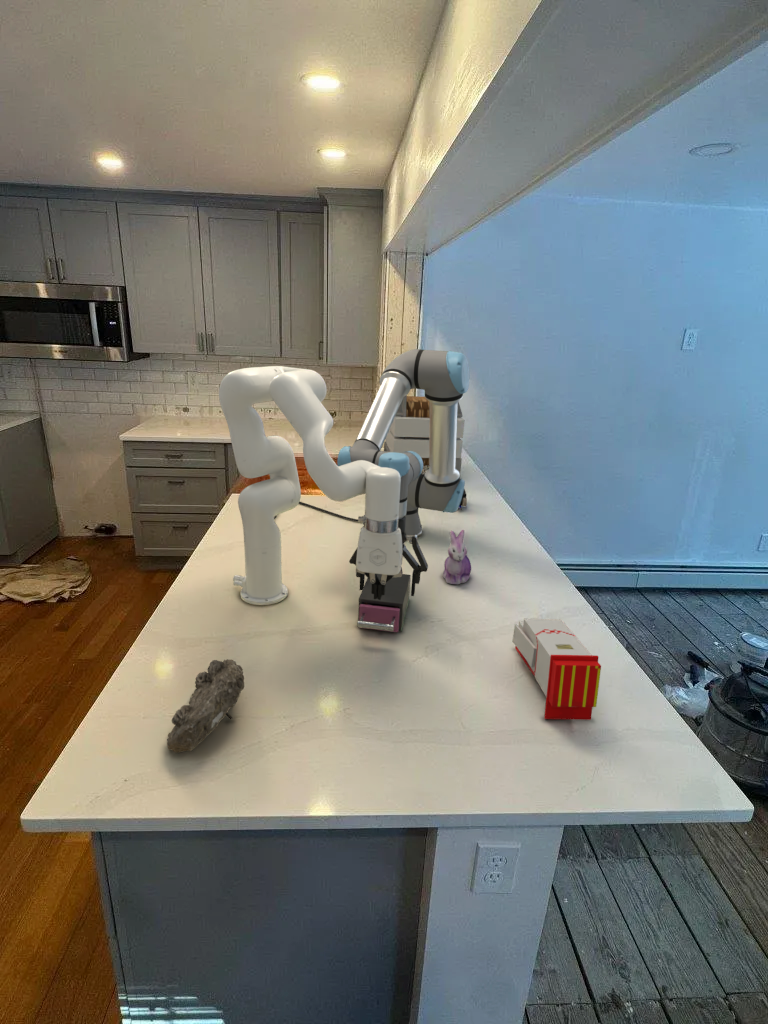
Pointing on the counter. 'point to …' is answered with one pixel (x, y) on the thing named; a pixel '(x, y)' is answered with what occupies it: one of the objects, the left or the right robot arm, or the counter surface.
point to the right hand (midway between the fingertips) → (387, 591)
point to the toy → (559, 667)
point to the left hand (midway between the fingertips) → (378, 596)
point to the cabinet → (390, 595)
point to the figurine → (457, 560)
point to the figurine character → (463, 500)
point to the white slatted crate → (418, 430)
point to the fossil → (206, 705)
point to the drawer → (379, 617)
